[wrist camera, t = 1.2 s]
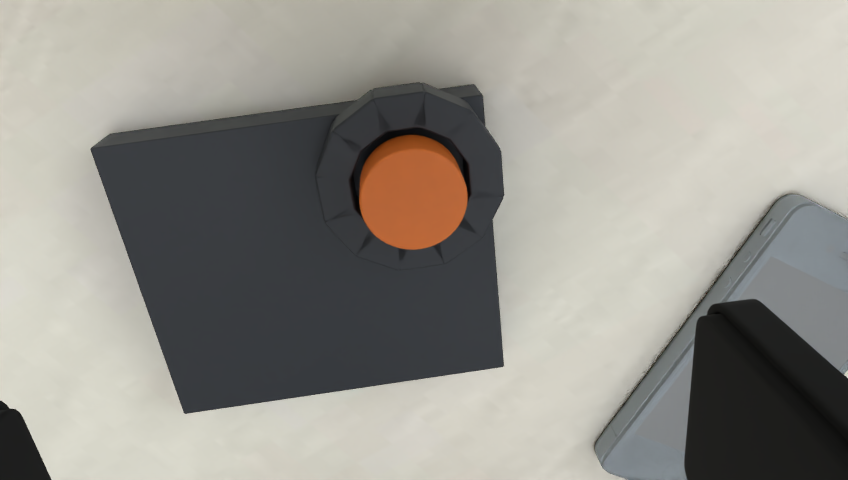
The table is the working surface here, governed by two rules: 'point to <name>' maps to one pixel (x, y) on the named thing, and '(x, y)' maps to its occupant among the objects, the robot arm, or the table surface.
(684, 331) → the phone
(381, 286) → the dark grey flat block
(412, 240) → the button
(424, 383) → the table surface
